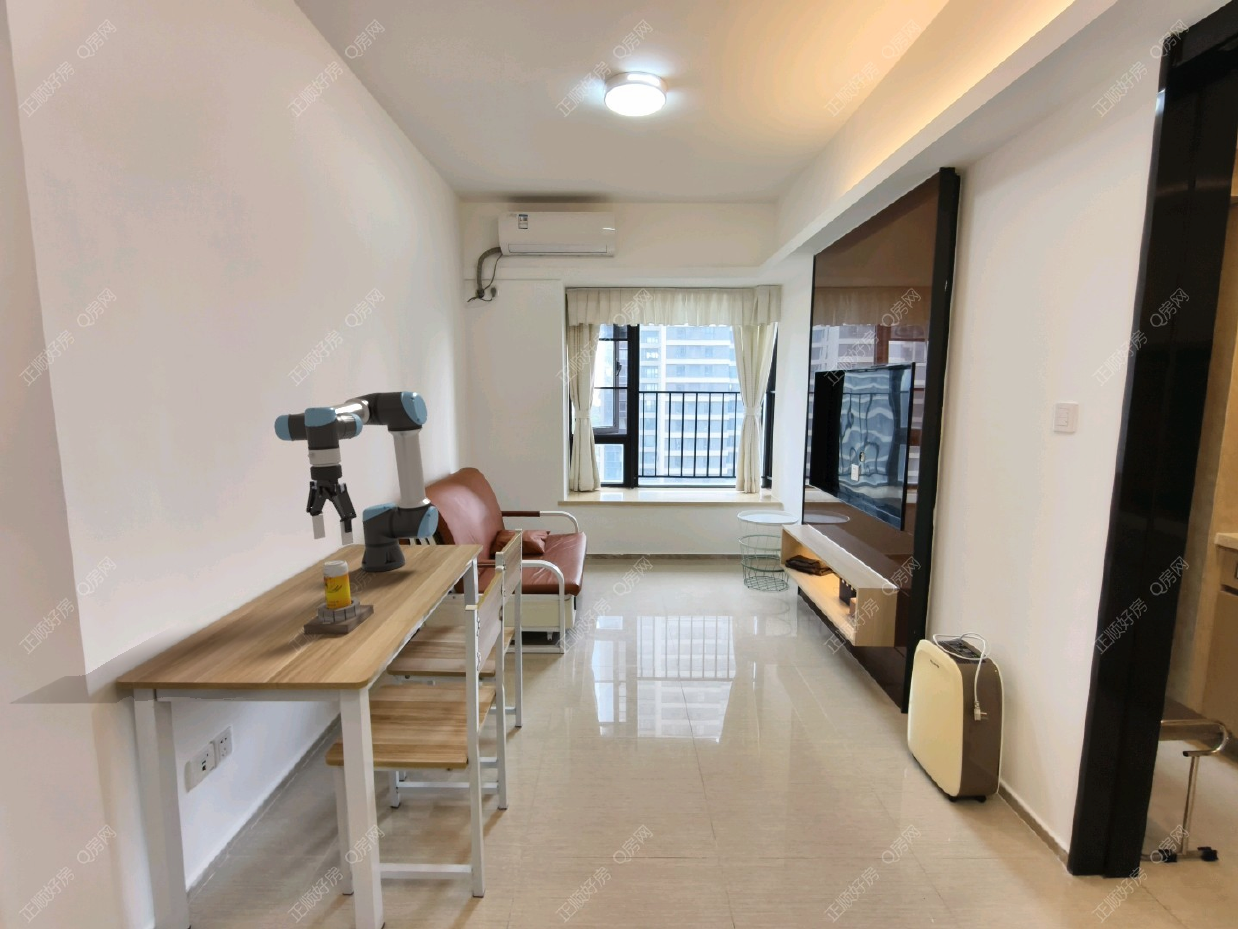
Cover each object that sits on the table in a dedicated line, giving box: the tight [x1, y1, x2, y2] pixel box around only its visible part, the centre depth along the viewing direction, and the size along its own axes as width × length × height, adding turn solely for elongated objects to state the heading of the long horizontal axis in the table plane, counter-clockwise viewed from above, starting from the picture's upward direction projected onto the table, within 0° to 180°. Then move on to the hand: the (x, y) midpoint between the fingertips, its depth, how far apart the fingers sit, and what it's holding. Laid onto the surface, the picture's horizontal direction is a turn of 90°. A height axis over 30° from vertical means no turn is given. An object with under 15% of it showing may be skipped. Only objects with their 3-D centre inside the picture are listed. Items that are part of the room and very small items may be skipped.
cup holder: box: [303, 596, 374, 635], centre depth 153 cm, size 14×12×6 cm
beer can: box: [322, 558, 352, 609], centre depth 153 cm, size 6×6×15 cm
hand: (333, 541), depth 151 cm, fingers open, 13 cm apart
